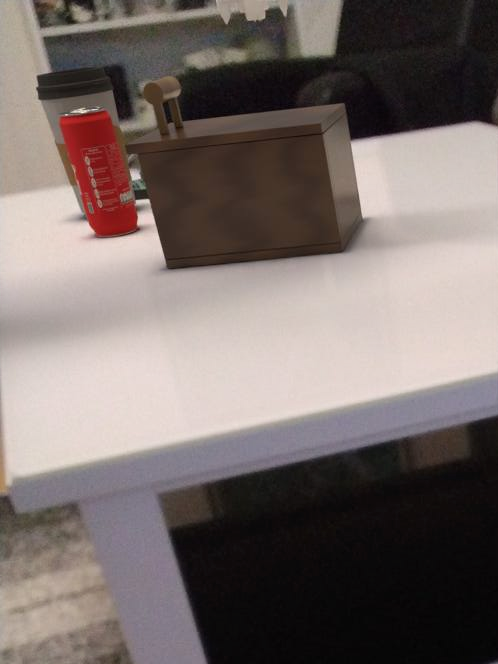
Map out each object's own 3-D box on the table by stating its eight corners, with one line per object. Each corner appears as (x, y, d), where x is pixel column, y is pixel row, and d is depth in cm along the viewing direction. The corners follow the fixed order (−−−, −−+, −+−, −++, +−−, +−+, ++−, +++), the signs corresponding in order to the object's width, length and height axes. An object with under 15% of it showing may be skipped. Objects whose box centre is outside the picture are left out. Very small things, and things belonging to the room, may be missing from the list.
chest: (167, 268, 95) (136, 153, 89) (205, 234, 106) (180, 130, 100) (342, 251, 93) (322, 133, 88) (362, 219, 104) (346, 112, 99)
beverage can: (115, 238, 109) (79, 114, 102) (83, 237, 112) (45, 115, 105) (150, 226, 113) (118, 105, 106) (119, 225, 115) (85, 106, 108)
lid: (126, 154, 89) (109, 90, 86) (171, 131, 100) (157, 74, 98) (322, 133, 88) (311, 67, 85) (346, 112, 99) (336, 53, 96)
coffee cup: (106, 205, 127) (66, 69, 119) (159, 204, 124) (123, 63, 116) (60, 222, 121) (15, 78, 113) (115, 220, 118) (73, 73, 109)
